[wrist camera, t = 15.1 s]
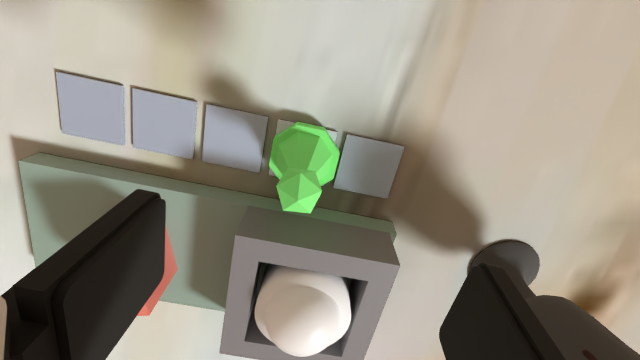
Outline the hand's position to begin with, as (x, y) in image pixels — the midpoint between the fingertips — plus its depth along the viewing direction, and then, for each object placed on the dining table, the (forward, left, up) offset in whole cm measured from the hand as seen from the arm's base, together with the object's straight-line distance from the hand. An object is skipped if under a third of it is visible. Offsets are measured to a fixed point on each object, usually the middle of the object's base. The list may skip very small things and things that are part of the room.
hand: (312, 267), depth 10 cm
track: (0, -5, -11) cm, 12 cm away
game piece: (+1, -1, -11) cm, 11 cm away
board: (+8, -5, -11) cm, 15 cm away
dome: (+8, +1, -9) cm, 12 cm away
